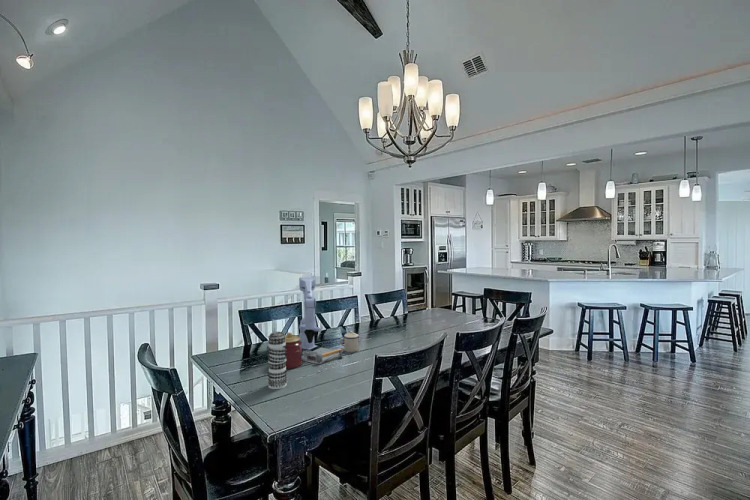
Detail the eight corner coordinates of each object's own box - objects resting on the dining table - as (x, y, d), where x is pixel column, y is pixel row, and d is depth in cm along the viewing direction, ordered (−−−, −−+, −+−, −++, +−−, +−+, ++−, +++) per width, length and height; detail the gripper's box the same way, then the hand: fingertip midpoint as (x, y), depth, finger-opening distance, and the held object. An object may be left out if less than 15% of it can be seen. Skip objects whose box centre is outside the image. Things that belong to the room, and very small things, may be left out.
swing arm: (318, 362, 206) (318, 356, 206) (315, 361, 209) (315, 354, 208) (346, 354, 221) (346, 347, 220) (342, 352, 223) (342, 346, 223)
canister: (296, 369, 200) (295, 336, 199) (273, 368, 202) (272, 335, 201) (305, 361, 212) (305, 330, 211) (284, 360, 215) (283, 329, 214)
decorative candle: (279, 380, 186) (278, 329, 185) (291, 384, 180) (290, 332, 179) (263, 385, 179) (262, 333, 178) (275, 391, 173) (274, 336, 172)
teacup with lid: (359, 348, 236) (359, 329, 236) (357, 352, 227) (357, 333, 227) (340, 347, 238) (340, 329, 237) (337, 352, 229) (337, 332, 228)
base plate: (297, 359, 215) (296, 351, 215) (321, 349, 234) (320, 341, 234) (327, 366, 205) (327, 357, 205) (349, 354, 224) (349, 346, 224)
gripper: (295, 319, 219) (295, 342, 220) (315, 322, 212) (315, 346, 213) (303, 316, 225) (303, 339, 226) (323, 319, 218) (323, 343, 219)
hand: (310, 342), depth 220 cm, fingers closed
